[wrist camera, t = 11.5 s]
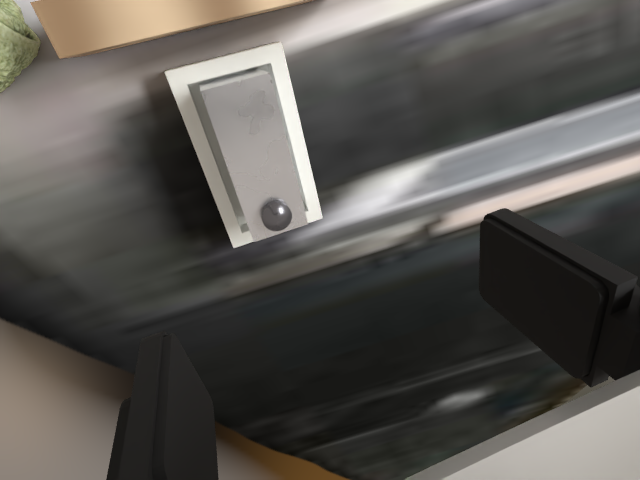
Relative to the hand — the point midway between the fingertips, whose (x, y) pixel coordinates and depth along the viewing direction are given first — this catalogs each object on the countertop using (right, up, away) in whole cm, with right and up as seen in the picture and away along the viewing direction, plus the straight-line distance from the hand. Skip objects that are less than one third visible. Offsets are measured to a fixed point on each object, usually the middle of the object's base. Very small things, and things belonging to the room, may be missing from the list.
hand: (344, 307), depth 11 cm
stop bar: (-6, +9, +17) cm, 20 cm away
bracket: (-6, +9, +17) cm, 20 cm away
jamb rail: (-8, +17, +12) cm, 22 cm away
